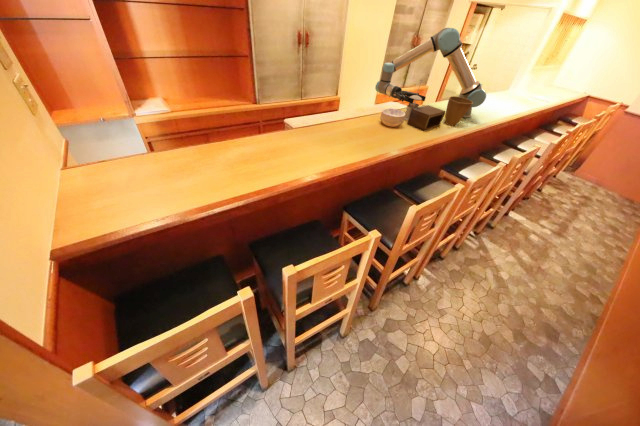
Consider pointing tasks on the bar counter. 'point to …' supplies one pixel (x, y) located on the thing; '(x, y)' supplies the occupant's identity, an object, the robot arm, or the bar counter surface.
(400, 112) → the paper bowls
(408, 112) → the french press
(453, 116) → the plant pot
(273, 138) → the bar counter surface
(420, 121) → the shelf
